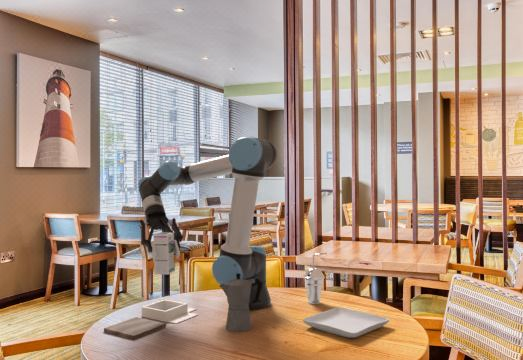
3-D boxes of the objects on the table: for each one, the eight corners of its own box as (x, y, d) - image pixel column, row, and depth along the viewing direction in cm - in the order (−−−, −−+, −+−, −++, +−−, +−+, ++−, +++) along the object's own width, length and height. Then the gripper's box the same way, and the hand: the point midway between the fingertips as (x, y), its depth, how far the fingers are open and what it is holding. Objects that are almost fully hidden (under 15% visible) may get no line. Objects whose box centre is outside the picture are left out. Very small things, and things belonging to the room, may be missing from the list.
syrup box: (169, 274, 168) (168, 234, 168) (153, 274, 169) (153, 233, 169) (175, 271, 174) (174, 232, 174) (160, 271, 175) (159, 232, 175)
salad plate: (338, 315, 171) (338, 305, 171) (391, 328, 156) (391, 317, 156) (300, 328, 156) (300, 318, 156) (354, 344, 141) (354, 333, 141)
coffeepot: (225, 334, 150) (224, 278, 150) (215, 326, 158) (214, 272, 158) (268, 327, 156) (268, 273, 156) (257, 319, 165) (256, 268, 165)
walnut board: (165, 327, 158) (165, 323, 158) (134, 339, 146) (134, 335, 146) (136, 320, 165) (136, 317, 165) (103, 332, 154) (103, 328, 154)
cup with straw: (312, 298, 192) (311, 249, 192) (330, 302, 186) (330, 251, 186) (298, 302, 186) (298, 252, 186) (317, 307, 180) (316, 254, 180)
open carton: (206, 311, 175) (206, 302, 175) (176, 323, 161) (176, 313, 161) (173, 305, 184) (173, 296, 184) (141, 316, 170) (141, 306, 170)
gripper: (178, 214, 190) (192, 260, 176) (125, 217, 180) (136, 266, 166) (182, 202, 185) (196, 248, 171) (128, 204, 175) (139, 253, 161)
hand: (166, 257), depth 168 cm, fingers closed on syrup box, 8 cm apart
